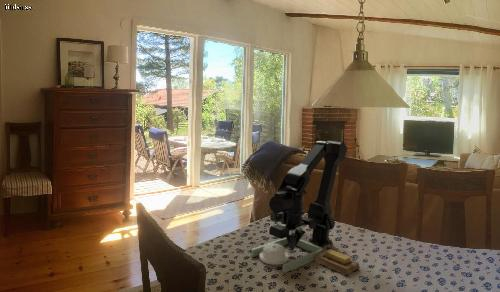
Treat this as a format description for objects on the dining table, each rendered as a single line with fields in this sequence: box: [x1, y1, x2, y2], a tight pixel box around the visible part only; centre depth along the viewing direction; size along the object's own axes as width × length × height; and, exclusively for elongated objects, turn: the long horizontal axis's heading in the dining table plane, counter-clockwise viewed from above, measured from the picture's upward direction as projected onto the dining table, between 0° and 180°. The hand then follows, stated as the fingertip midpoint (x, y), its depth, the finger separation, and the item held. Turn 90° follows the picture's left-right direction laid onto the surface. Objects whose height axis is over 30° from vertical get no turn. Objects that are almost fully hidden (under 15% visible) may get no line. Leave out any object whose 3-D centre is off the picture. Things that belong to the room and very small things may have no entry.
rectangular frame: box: [314, 252, 360, 276], centre depth 134 cm, size 7×12×2 cm, turn 42°
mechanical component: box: [258, 243, 289, 266], centre depth 137 cm, size 10×4×10 cm
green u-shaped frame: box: [250, 238, 326, 274], centre depth 139 cm, size 20×16×2 cm
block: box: [325, 249, 351, 266], centre depth 134 cm, size 8×3×4 cm, turn 42°
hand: (291, 250), depth 141 cm, fingers closed
